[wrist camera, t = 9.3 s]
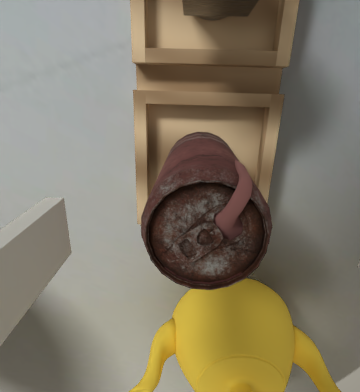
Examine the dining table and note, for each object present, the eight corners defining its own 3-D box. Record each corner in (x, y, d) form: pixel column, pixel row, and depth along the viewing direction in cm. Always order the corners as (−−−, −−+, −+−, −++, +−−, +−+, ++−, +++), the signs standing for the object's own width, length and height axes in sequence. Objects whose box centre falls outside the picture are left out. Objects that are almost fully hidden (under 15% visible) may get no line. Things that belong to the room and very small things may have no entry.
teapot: (146, 349, 35) (126, 459, 25) (144, 255, 30) (117, 342, 19) (296, 359, 35) (342, 475, 24) (321, 264, 30) (394, 360, 19)
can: (246, 143, 24) (309, 201, 10) (216, 203, 26) (238, 313, 13) (183, 117, 23) (167, 143, 10) (158, 181, 25) (119, 271, 12)
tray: (134, -139, 19) (124, -180, 16) (306, -138, 18) (327, -181, 15) (143, 219, 28) (137, 233, 26) (254, 224, 28) (261, 239, 25)
